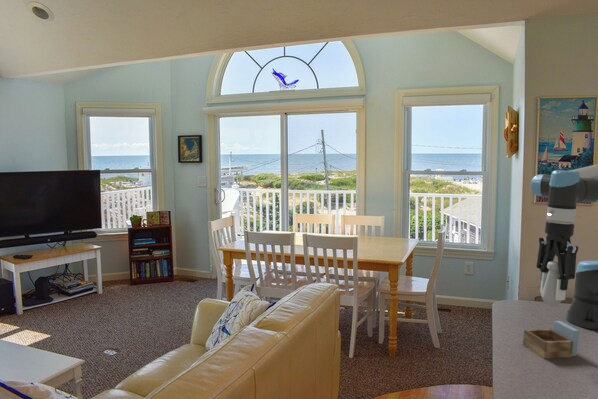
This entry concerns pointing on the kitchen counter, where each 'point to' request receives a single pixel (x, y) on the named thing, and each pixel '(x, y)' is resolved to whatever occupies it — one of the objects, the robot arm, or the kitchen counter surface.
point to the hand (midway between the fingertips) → (552, 296)
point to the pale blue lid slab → (568, 334)
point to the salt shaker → (551, 285)
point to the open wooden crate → (548, 343)
